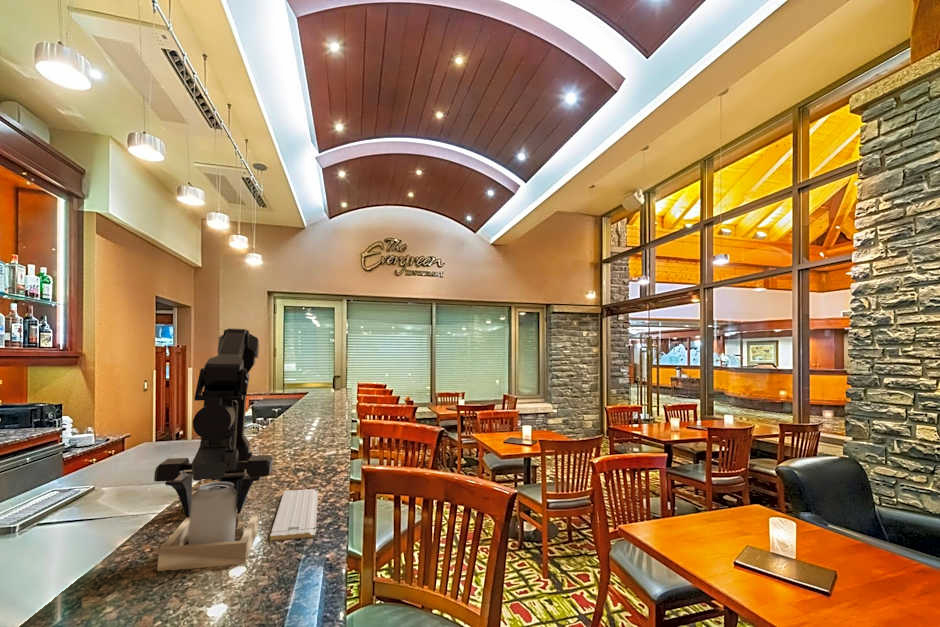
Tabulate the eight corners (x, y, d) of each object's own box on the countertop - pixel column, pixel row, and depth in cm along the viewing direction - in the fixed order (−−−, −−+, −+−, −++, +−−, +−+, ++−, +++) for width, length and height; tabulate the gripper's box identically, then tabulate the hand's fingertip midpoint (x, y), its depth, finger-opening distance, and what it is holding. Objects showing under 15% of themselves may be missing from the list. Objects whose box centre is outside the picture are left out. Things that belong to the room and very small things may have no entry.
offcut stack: (199, 535, 92) (201, 514, 92) (243, 531, 94) (244, 511, 94) (194, 543, 88) (195, 521, 88) (240, 539, 90) (241, 518, 91)
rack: (184, 536, 91) (185, 518, 91) (258, 530, 95) (259, 513, 95) (157, 571, 77) (158, 550, 77) (245, 563, 80) (246, 542, 81)
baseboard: (323, 493, 122) (283, 496, 119) (324, 482, 122) (284, 485, 119) (322, 538, 93) (269, 544, 90) (323, 524, 93) (270, 529, 90)
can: (242, 544, 88) (246, 480, 89) (218, 562, 81) (223, 492, 82) (204, 542, 88) (209, 478, 89) (177, 560, 81) (182, 490, 82)
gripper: (145, 439, 76) (137, 536, 75) (268, 435, 81) (262, 527, 80) (168, 427, 87) (161, 513, 85) (275, 425, 92) (270, 505, 91)
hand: (213, 514), depth 85 cm, fingers open, 8 cm apart
